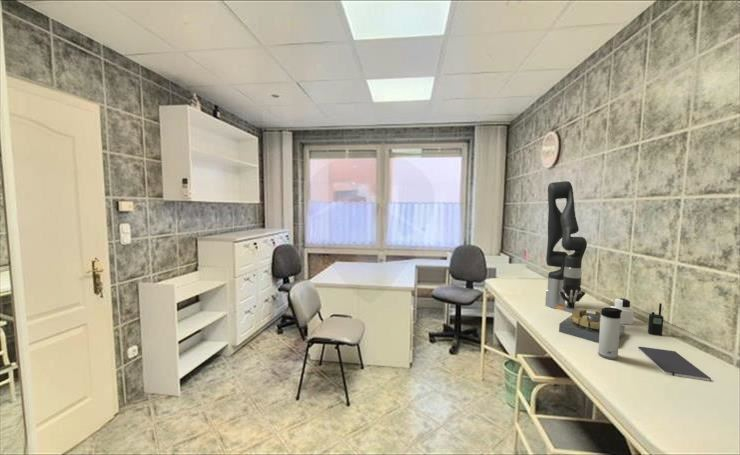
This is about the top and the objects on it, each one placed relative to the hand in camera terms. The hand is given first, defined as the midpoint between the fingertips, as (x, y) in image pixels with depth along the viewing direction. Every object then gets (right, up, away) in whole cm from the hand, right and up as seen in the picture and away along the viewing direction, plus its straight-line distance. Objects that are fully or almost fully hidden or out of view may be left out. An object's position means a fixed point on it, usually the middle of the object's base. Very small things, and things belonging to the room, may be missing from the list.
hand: (570, 309), depth 158 cm
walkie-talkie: (+33, -9, -11) cm, 36 cm away
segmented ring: (+1, -3, -8) cm, 9 cm away
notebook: (+14, -12, -38) cm, 42 cm away
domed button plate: (+3, -8, -11) cm, 14 cm away
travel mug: (-6, -10, -33) cm, 35 cm away
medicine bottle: (+29, -8, +4) cm, 30 cm away
